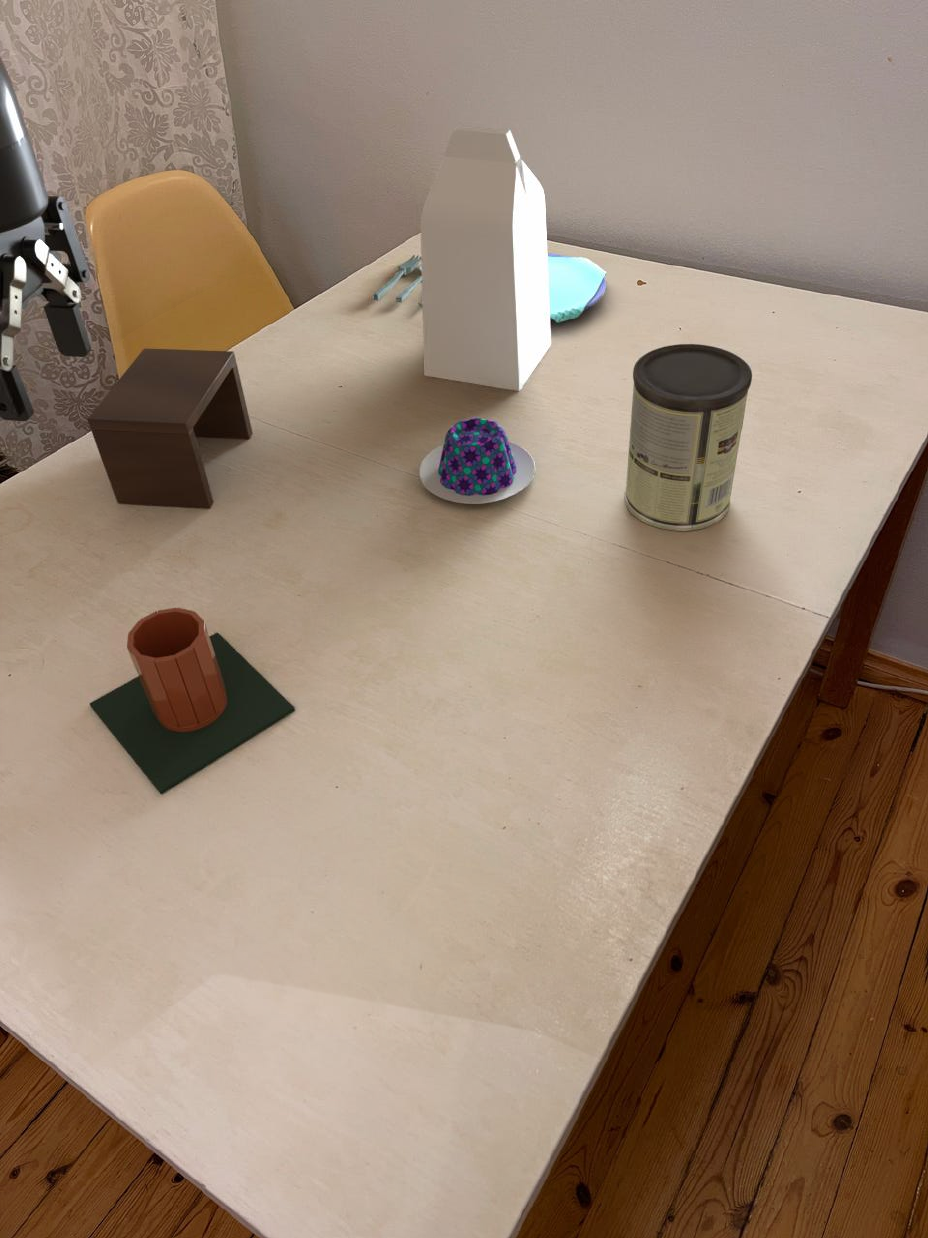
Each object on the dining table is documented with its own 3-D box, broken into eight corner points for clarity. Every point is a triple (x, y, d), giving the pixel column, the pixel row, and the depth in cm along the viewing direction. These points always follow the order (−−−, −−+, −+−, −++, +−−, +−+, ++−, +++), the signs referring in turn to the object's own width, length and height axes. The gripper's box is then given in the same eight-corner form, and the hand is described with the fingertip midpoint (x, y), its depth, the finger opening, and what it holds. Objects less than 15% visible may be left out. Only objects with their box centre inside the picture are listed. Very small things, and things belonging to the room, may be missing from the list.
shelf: (210, 509, 97) (185, 423, 91) (117, 503, 99) (86, 419, 92) (252, 433, 107) (234, 351, 101) (168, 429, 109) (144, 347, 102)
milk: (424, 375, 115) (405, 143, 97) (461, 331, 123) (449, 108, 105) (519, 391, 111) (517, 152, 93) (551, 344, 119) (554, 116, 101)
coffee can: (641, 461, 100) (652, 335, 90) (740, 482, 97) (764, 353, 87) (608, 518, 93) (618, 388, 84) (714, 542, 90) (736, 410, 80)
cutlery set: (582, 341, 119) (583, 324, 118) (363, 311, 128) (361, 294, 126) (622, 274, 132) (623, 258, 131) (422, 251, 141) (421, 235, 140)
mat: (161, 795, 72) (159, 791, 71) (90, 706, 78) (89, 703, 78) (295, 710, 77) (294, 707, 77) (218, 635, 84) (217, 631, 84)
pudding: (434, 438, 105) (430, 396, 101) (543, 446, 103) (544, 403, 99) (406, 504, 96) (402, 460, 93) (525, 514, 94) (525, 470, 91)
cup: (177, 744, 75) (149, 673, 69) (143, 704, 78) (113, 633, 72) (240, 706, 77) (218, 634, 72) (204, 668, 80) (180, 597, 75)
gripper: (-37, 94, 61) (47, 333, 72) (-182, 174, 51) (-59, 437, 62) (74, 97, 60) (141, 338, 71) (-52, 179, 50) (50, 446, 61)
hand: (48, 384), depth 66 cm, fingers open, 8 cm apart
